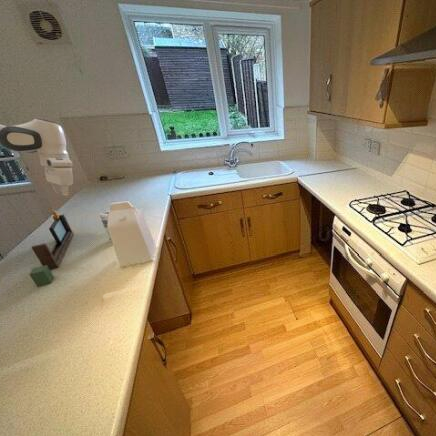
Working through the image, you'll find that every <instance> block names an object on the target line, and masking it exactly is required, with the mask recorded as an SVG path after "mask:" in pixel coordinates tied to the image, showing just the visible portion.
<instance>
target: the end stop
mask: <svg viewBox="0 0 436 436" xmlns="http://www.w3.org/2000/svg"><path fill="white" fill-rule="evenodd" d="M28 275H29V277H30V278H31V279H32V281H33V282H34V284H35V285H36V287H41V286H45V285H49V284H52V283H53V280H54V278H55V276H54V274H53V273H52V271H51V270H50V269H49V268H48V266H47V265H44V266H43V265H41V266H37V267H33V268H32V269H31V270H30V272H29V274H28Z"/></svg>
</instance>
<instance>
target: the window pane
mask: <svg viewBox="0 0 436 436" xmlns="http://www.w3.org/2000/svg"><path fill="white" fill-rule="evenodd" d="M51 214H52V217H53V216H54V217H55V220H54V219H53V220H54V221H53V222H52V224H51V225H50V226H49V228H48V230H49V232H50V234H51V236H52V237H53V240H54V241H55V243H57V244H58V246H59V245H61V243H62V241H63V239H64V238H65V236H66V234H67V230H66V228H65V226H64V224H63V222H62V220H61V218H60V217H59V216H58V215H59V214H58V212H57V210H56V209H53V210H51Z"/></svg>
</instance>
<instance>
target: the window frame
mask: <svg viewBox="0 0 436 436" xmlns="http://www.w3.org/2000/svg"><path fill="white" fill-rule="evenodd" d="M58 216H59V217H60V218H61V220H62V222H63V224H64V226H65V228H66V230H67V234H66V236H65V238H64V239H63V241H62V243H61V245H59V246H58V244H57V243H56V242H55V243H54V245H53V246H52V249H51V250H50V248H49V246H48V244H47V243H46V242H44V243H40V244H36V245H32V246H31V250H32V251H33V253H34V254H35V256H36V257H37V259H38V260H39V263H40V264H41V266H44V265H47V266H48V268H49V269H50V271H51V270H55V269H59V267H60V265H61V263H62V261H63V259H64V256H65V255H66V252H67V250H68V247H69V246H70V244H71V242H72V240H73V237H74V236H75V235H74V234H75V233H74V231H73V230H72V228H71V226H70V223H69V222H68V219H67V217H66V215H65V214H64V213H63V214H58ZM52 218H53V220H55V217H54V216H53V215H52Z"/></svg>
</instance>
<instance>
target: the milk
mask: <svg viewBox="0 0 436 436" xmlns="http://www.w3.org/2000/svg"><path fill="white" fill-rule="evenodd" d="M109 210H110V212H109V217H108V224H107V228H108V232H109V235H110V238H111V241H110V242H111V243H112V246H113V249H114V252H115V255H116V258H117V262H118V264H119V267H120V268H122V267H128V266H132V265H133V266H134V265H138V264H139V265H140V263H139V262H142V263H147V262H153V261H154V260H153V259H154V256H155V252H156V250H157V245H156V243H155V240H154V238H153V236H152V233H151V230H150V227H149V225H148V223H147V220H146V218H145V215H144V213H143V212H142V211H141V210H140V209H139V208H137V207H135V206H134V205H133V204H132V203H131V202H130V201H129V200H125V201H117V202H116V201H115V202H111V203H110V204H109ZM145 261H147V262H145ZM135 263H137V264H135ZM142 263H141V264H142ZM130 264H132V265H130Z"/></svg>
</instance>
